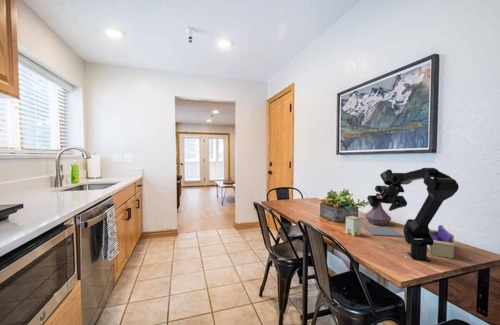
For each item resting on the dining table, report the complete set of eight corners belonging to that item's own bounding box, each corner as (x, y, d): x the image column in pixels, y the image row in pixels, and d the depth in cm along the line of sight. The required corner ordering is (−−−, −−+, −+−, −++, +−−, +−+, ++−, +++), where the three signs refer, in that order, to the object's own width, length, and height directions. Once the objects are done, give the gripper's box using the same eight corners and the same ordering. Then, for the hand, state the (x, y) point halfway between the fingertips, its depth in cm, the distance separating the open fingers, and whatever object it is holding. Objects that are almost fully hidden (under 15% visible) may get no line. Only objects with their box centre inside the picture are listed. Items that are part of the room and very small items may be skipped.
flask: (370, 218, 161) (370, 191, 161) (396, 223, 149) (396, 193, 148) (359, 222, 151) (359, 193, 151) (386, 228, 138) (386, 196, 138)
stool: (360, 234, 127) (360, 218, 126) (353, 235, 124) (353, 219, 124) (352, 231, 131) (352, 215, 131) (345, 233, 129) (345, 216, 129)
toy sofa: (420, 240, 118) (420, 221, 118) (441, 243, 114) (442, 223, 114) (429, 255, 100) (429, 232, 100) (454, 259, 95) (455, 236, 95)
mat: (403, 236, 123) (403, 235, 123) (373, 235, 125) (373, 234, 125) (389, 228, 139) (389, 227, 139) (362, 226, 141) (362, 225, 141)
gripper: (402, 180, 122) (391, 199, 132) (368, 180, 122) (359, 199, 133) (413, 196, 113) (400, 215, 124) (376, 196, 114) (366, 214, 124)
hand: (381, 210), depth 126 cm, fingers open, 9 cm apart
